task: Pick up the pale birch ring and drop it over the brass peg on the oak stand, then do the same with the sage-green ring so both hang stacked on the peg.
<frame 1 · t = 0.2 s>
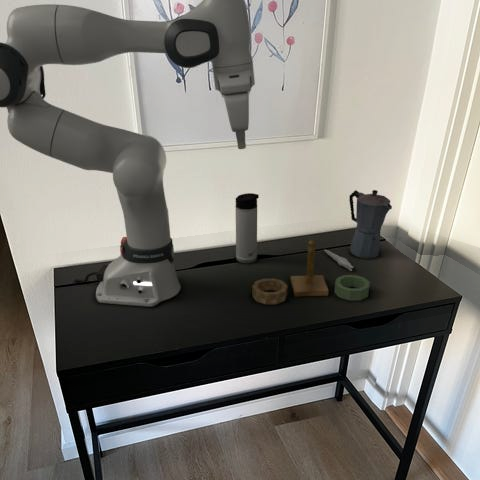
hand: (241, 143, 120), 38 cm above the table, tool pointing down, fingers open, 8 cm apart
sage ring: (351, 292, 138), on the table
birch ring: (269, 296, 137), on the table
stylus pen: (337, 262, 154), on the table
moka pot: (362, 253, 159), on the table
travel mug: (247, 259, 156), on the table
peg stand: (308, 287, 140), on the table
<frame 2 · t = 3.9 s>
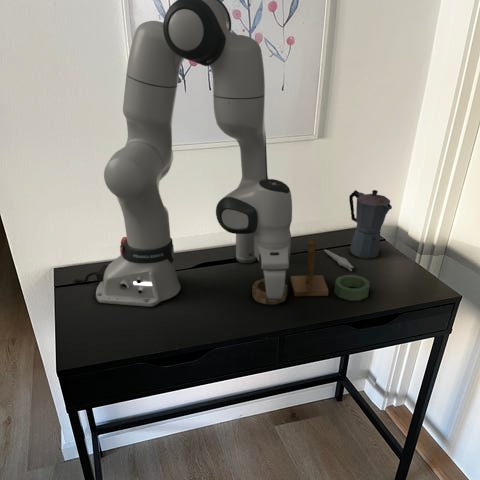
hand: (270, 297, 133), 2 cm above the table, tool pointing down, fingers closed on birch ring
birch ring: (269, 296, 137), on the table, touching gripper
everything else where it was.
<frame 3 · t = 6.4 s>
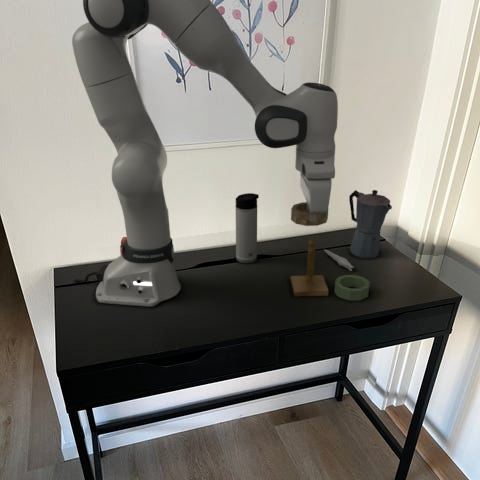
hand: (311, 218, 125), 22 cm above the table, tool pointing down, fingers closed on birch ring
birch ring: (309, 219, 129), point 20 cm above the table, touching gripper
everything else where it was.
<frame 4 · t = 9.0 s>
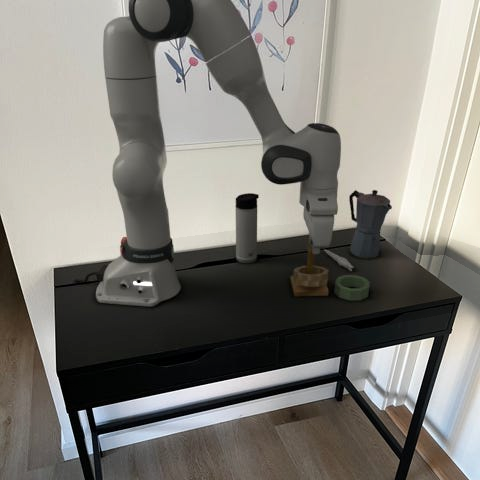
hand: (314, 249, 130), 13 cm above the table, tool pointing down, fingers open, 3 cm apart
birch ring: (310, 281, 137), point 3 cm above the table, tilted 10°, touching peg stand
everything else where it was.
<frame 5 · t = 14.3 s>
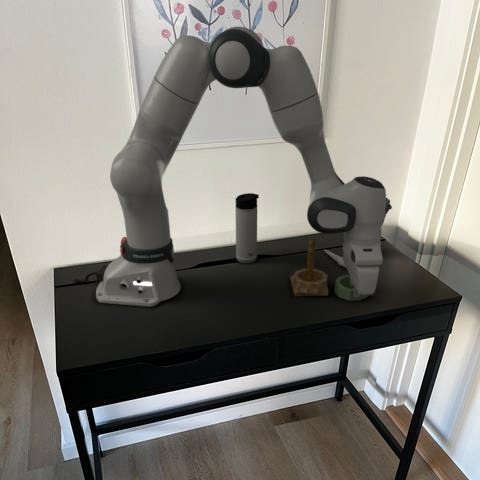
hand: (355, 293, 134), 2 cm above the table, tool pointing down, fingers closed on sage ring
sage ring: (351, 292, 138), on the table, touching gripper
birch ring: (309, 285, 138), point 1 cm above the table, touching peg stand
everything else where it was.
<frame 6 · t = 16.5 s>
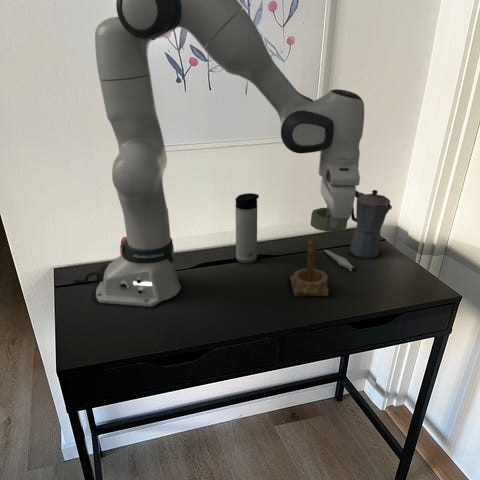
hand: (331, 224, 125), 20 cm above the table, tool pointing down, fingers closed on sage ring
sage ring: (328, 225, 130), point 18 cm above the table, touching gripper
everything else where it was.
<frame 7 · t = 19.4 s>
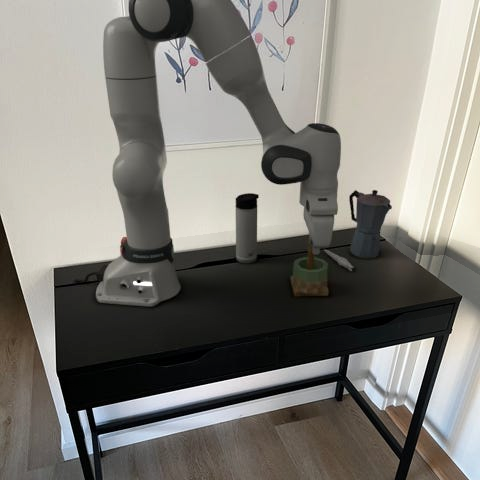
hand: (314, 249, 130), 13 cm above the table, tool pointing down, fingers open, 3 cm apart
sage ring: (310, 274, 137), point 4 cm above the table, touching birch ring
birch ring: (309, 285, 138), point 1 cm above the table, touching peg stand, sage ring
everything else where it was.
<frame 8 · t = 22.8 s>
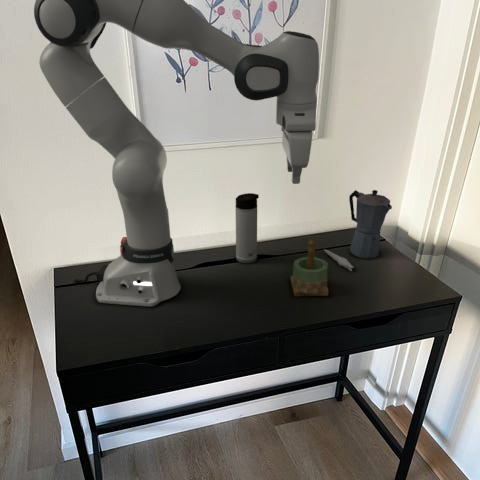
hand: (293, 176, 122), 31 cm above the table, tool pointing down, fingers open, 8 cm apart
nothing on the table moved.
at the end: birch ring 1.6 cm off-centre on the peg stand, point 1.5 cm above the peg stand's base; sage ring 0.7 cm off-centre on the peg stand, point 4.5 cm above the peg stand's base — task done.
